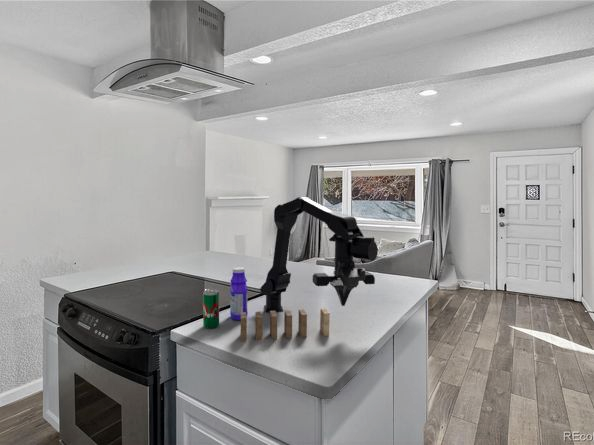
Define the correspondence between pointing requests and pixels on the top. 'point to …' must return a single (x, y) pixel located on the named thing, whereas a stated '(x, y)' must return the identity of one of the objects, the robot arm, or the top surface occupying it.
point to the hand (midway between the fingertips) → (342, 305)
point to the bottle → (238, 293)
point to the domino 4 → (288, 323)
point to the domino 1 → (243, 326)
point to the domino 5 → (302, 323)
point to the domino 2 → (258, 325)
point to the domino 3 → (273, 324)
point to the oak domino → (324, 321)
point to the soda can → (210, 308)
